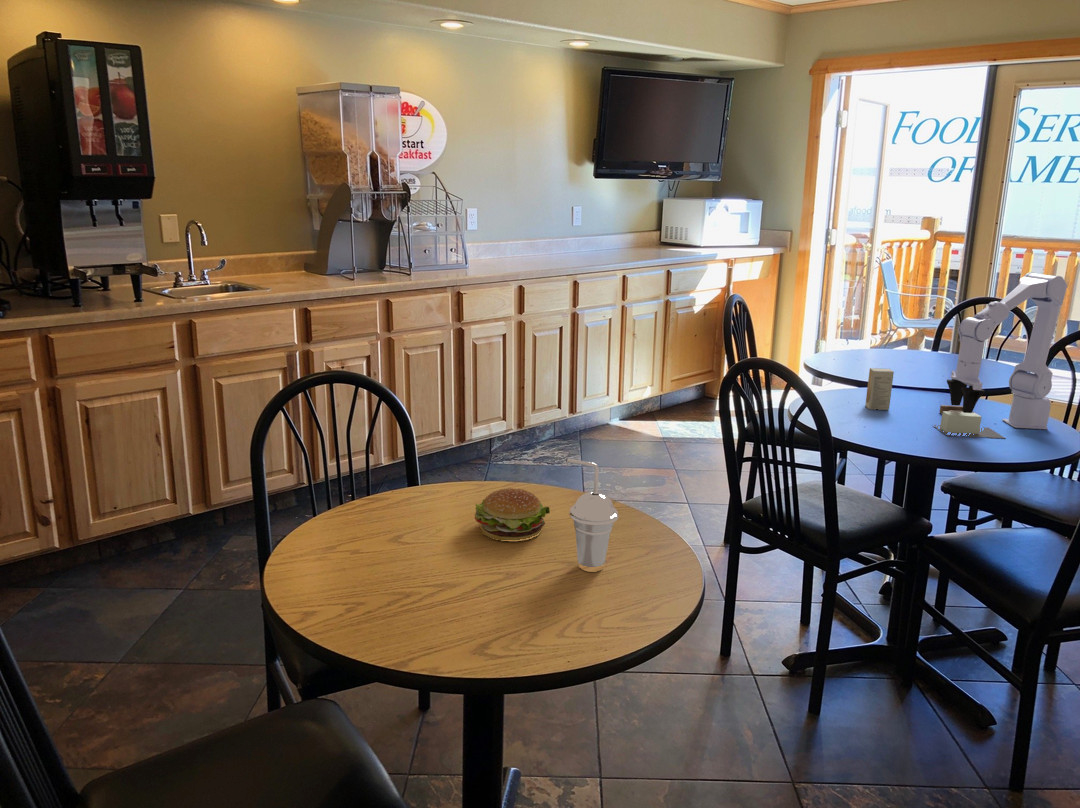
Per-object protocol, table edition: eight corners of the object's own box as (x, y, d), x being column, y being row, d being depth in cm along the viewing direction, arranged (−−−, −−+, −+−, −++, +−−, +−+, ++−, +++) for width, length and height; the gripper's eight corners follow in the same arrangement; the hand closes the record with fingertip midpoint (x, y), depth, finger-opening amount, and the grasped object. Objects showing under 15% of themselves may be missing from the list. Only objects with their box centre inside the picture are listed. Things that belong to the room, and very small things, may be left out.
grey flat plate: (988, 428, 240) (988, 427, 240) (1005, 438, 231) (1005, 438, 231) (931, 425, 241) (932, 424, 241) (946, 436, 231) (946, 435, 231)
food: (458, 535, 158) (459, 496, 155) (500, 512, 169) (501, 475, 167) (520, 554, 151) (521, 513, 149) (559, 528, 162) (561, 490, 160)
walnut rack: (962, 414, 254) (963, 406, 254) (972, 420, 248) (974, 412, 247) (939, 413, 255) (940, 405, 254) (948, 419, 248) (950, 411, 247)
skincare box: (885, 406, 259) (890, 368, 256) (889, 410, 255) (895, 371, 252) (863, 405, 260) (869, 367, 257) (867, 409, 256) (873, 370, 253)
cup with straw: (605, 582, 141) (611, 470, 136) (556, 570, 145) (560, 461, 140) (621, 562, 149) (629, 456, 143) (575, 551, 152) (580, 447, 147)
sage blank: (972, 429, 238) (975, 412, 236) (978, 433, 234) (981, 416, 232) (939, 428, 238) (942, 411, 237) (945, 432, 234) (948, 415, 233)
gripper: (943, 355, 238) (936, 401, 241) (966, 366, 224) (958, 415, 227) (968, 356, 237) (960, 402, 241) (993, 367, 223) (984, 416, 227)
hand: (961, 408), depth 234 cm, fingers open, 7 cm apart
